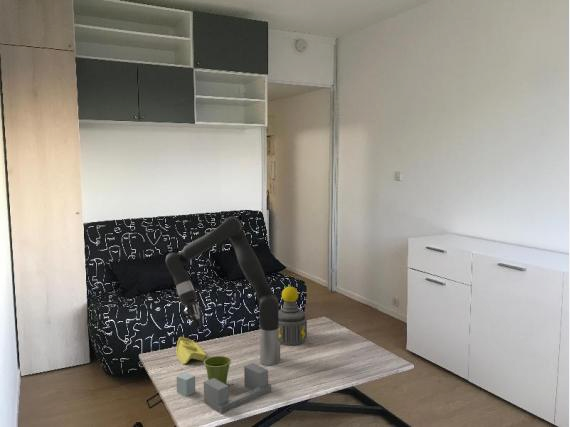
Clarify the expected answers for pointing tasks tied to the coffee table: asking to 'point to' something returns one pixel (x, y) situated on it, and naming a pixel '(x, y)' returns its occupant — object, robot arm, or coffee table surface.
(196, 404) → the coffee table surface
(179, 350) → the plastic component
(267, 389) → the rail strip
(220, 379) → the plant pot
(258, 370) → the block
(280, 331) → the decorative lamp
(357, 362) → the coffee table surface
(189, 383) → the block
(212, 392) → the block
